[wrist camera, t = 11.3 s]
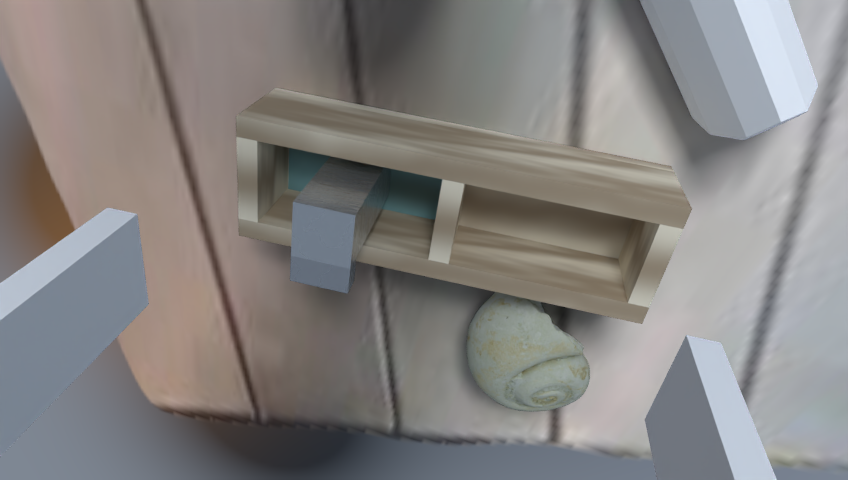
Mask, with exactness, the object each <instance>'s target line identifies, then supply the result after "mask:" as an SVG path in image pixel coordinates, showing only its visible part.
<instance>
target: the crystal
mask: <svg viewBox="0 0 848 480" xmlns="http://www.w3.org/2000/svg"><path fill="white" fill-rule="evenodd" d="M640 2H641V5H642V7H643V9H644V11H645V14H646V16H647V18H648V20H649V22H650V25H651V27H652V29H653V31H654V34H655V36H656V38H657V40H658V43H659V45H660V47H661V49H662V52H663V54H664V56H665V58H666V61H667V63H668V65H669V67H670V69H671V72H672V74H673V76H674V78H675V81H676V83H677V85H678V87H679V90H680V92H681V94H682V96H683V99H684V101H685V103H686V105H687V108H688V110H689V112H690V114H691V116H692V118H693V119H694V120H695V121H696V122H697V123H698V124H699V125H700V126H701V127H702V128H703V129H704V130H706V131H707V132H708V133H709V134H710V135H714V136H720V137H726V138H732V139H738V140H746V139H748V138H751V137H753V136H755V135H758V134H760V133H762V132H765V131H767V130H769V129H772V128H774V127H776V126H778V125H780V124H783V123H785V122H787V121H789V120H791V119H793V118H796V117H798V116H800V115H802V114H804V113H805V112H807V111H808V109H809V106H810V104H811V101H812V99H813V96H814V94H815V92H816V89H817V87H818V84H817V81H816V78H815V75H814V73H813V70H812V67H811V64H810V61H809V58H808V55H807V53H806V50H805V47H804V44H803V41H802V38H801V36H800V33H799V30H798V27H797V24H796V21H795V19H794V16H793V13H792V10H791V7H790V4H789V1H788V0H640Z"/></svg>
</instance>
